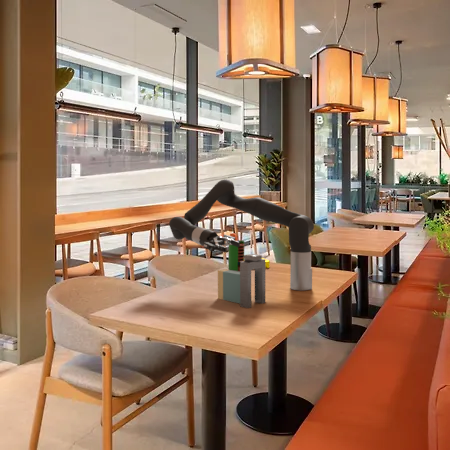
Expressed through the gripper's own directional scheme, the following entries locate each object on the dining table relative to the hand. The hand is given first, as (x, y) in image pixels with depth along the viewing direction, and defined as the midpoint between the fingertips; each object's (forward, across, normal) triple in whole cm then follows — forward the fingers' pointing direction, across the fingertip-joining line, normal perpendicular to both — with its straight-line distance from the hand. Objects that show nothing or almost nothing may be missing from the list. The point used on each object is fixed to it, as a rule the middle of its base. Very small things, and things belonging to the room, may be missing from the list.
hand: (232, 247), depth 210 cm
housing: (+16, +5, -19) cm, 25 cm away
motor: (-34, -45, -36) cm, 67 cm away
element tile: (-33, -59, -39) cm, 78 cm away
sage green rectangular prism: (+5, +4, -21) cm, 22 cm away
